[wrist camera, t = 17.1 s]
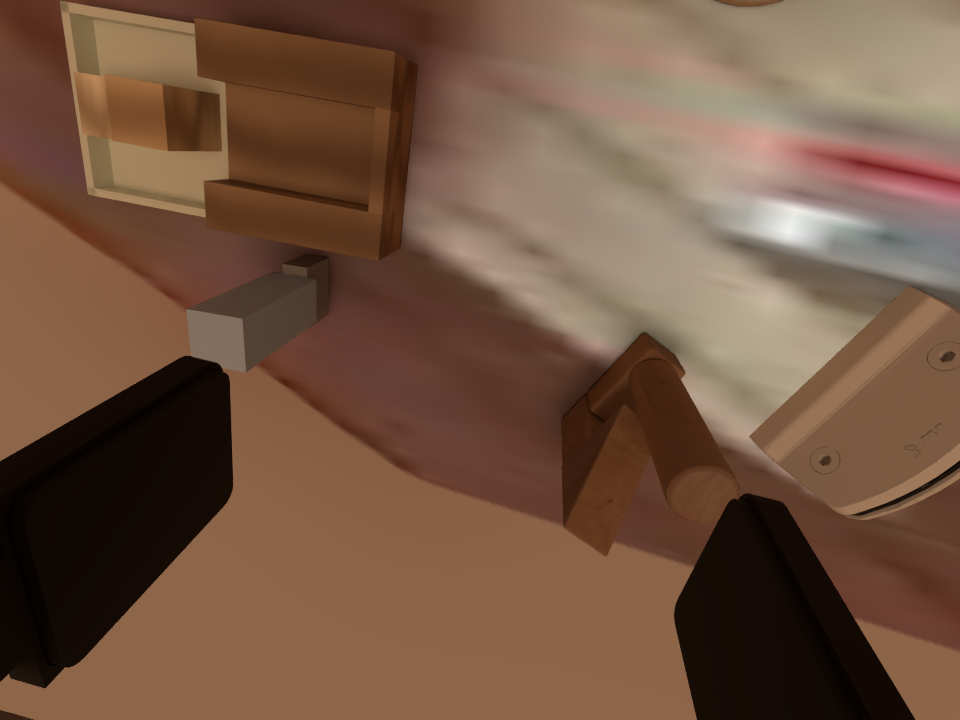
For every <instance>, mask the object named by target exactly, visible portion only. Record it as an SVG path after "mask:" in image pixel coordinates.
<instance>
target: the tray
mask: <svg viewBox="0 0 960 720" xmlns="http://www.w3.org/2000/svg"><path fill="white" fill-rule="evenodd" d="M60 6H61V13H62V20H63V27H64V33H65V40H66V47H67V54H68V60H69V67H70V74H71V81H72V87H73V94H74V101H75V108H76V115H77V121H78V128H79V135H80V142H81V148H82V155H83V162H84V169H85V175H86V182H87V189H88V195H93V196H98V197H103V198H109V199H114V200H119V201H124V202H129V203H134V204H139V205H145V206H150V207H155V208H160V209H165V210H170V211H175V212H181V213H186V214H191V215H196V216H201V217H206V214H205V197H204V181H208V180H220V179H229V167H228V141H227V115H226V89H225V82H221V81H217V80H212V79H207V78H202V77H198V76H197V59H196V42H195V25H194V24H193V23H187V22H181V21H175V20H169V19H163V18H158V17H152V16H146V15H140V14H134V13H128V12H122V11H116V10H110V9H104V8H99V7H93V6H87V5H81V4H75V3H69V2H63V1H60ZM74 71H75V72H81V73H86V74H92V75H98V76H104V74H106V75H112V76H117V77H123V78H129V79H134V80H140V81H146V82H152V83H157V84H163V85H169V86H175V87H180V88H186V89H191V90H197V91H203V92H208V93H214V94H220V116H221V139H222V151H164V150H159V149H153V148H148V147H143V146H137V145H132V144H126V143H121V142H116V141H112V139H106V138H101V137H95V136H90V135H84V134H83V133H82V126H81V119H80V112H79V105H78V98H77V92H76V85H75V78H74Z"/></svg>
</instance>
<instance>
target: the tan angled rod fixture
mask: <svg viewBox="0 0 960 720" xmlns="http://www.w3.org/2000/svg"><path fill="white" fill-rule="evenodd" d="M684 375H685V371H684V369H683V367H682V366H681V364H680V362H679V361H678V359H677V357H676V356H675V355H674V354H673V353H672V352H670V351H669V350H668V349H666V348H665V347H664V346H662V345H661V344H660V343H658V342H657V341H656V340H655V339H653V338H652V337H651V336H649V335H648V334H645V333H644V334H642V335H641V336H640V337H639V338H638V339H637V340H636V341H635V342H634V343H633V344H632V346H631V347H630V348H629V349H628V350H627V351H626V352H625V353H624V354H623V355H622V356H621V357H620V358H619V359H618V360H617V361H616V363H615V364H614V365H613V366H612V367H611V368H610V369H609V370H608V371H607V372H606V373H605V374H604V375H603V376H602V377H601V379H600V380H599V381H598V382H597V383H596V384H595V385H594V386H593V387H592V388H591V389H590V390H589V391H588V395H585V396H584V397H583V398H582V399H581V400H580V401H579V402H578V403H577V404H576V405H575V406H574V407H573V408H572V409H571V410H570V411H569V412H568V414H567V415H566V416H565V417H564V418H563V419H562V421H561V426H562V460H563V465H562V492H563V526H564V528H565V529H566V530H568V531H569V532H570V533H572V534H573V535H575V536H576V537H578V538H579V539H581V540H583V541H584V542H585V543H586V544H588V545H589V546H591V547H592V548H594V549H595V550H597V551H598V552H600V553H601V554H603V555H604V556H607V555H608V552H609V550H610V548H611V545H612V543H613V541H614V539H615V536H616V534H617V532H618V529H619V527H620V525H621V523H622V520H623V518H624V516H625V513H626V511H627V509H628V507H629V504H630V502H631V500H632V497H633V495H634V493H635V491H636V488H637V486H638V484H639V481H640V479H641V477H642V475H643V472H644V470H645V468H646V465H647V463H648V461H649V459H650V456H652V459H653V462H654V465H655V468H656V471H657V474H658V477H659V480H660V483H661V486H662V489H663V493H664V496H665V499H666V501H667V503H668V505H669V508H670V509H671V510H672V511H673V512H674V513H675V514H676V515H678V516H679V517H681V518H683V519H685V520H687V521H690V522H695V523H710V522H713V521H717V520H719V519H720V517H721V515H722V513H723V511H724V509H725V507H726V505H727V504H728V502H729V501H730V500H731V499H739V488H740V487H739V484H738V482H737V479H736V477H735V476H734V474H733V472H732V470H731V468H730V467H729V465H728V463H727V461H726V459H725V458H724V456H723V454H722V452H721V451H720V449H719V447H718V445H717V443H716V442H715V440H714V438H713V436H712V435H711V433H710V431H709V429H708V427H707V426H706V424H705V422H704V420H703V418H702V417H701V415H700V413H699V411H698V410H697V408H696V406H695V404H694V402H693V401H692V399H691V397H690V395H689V394H688V392H687V390H686V388H685V386H684V385H683V383H682V381H681V378H682V377H683V376H684Z"/></svg>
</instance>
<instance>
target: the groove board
mask: <svg viewBox="0 0 960 720" xmlns="http://www.w3.org/2000/svg"><path fill="white" fill-rule="evenodd" d="M194 25H195V42H196V59H197V76H198V77H202V78H207V79H212V80H217V81H221V82H225V89H226V115H227V141H228V167H229V179H220V180H208V181H204V197H205V214H206V228H212V229H217V230H222V231H227V232H232V233H237V234H242V235H247V236H252V237H258V238H263V239H268V240H273V241H278V242H283V243H288V244H293V245H299V246H304V247H309V248H314V249H319V250H324V251H329V252H334V253H339V254H345V255H350V256H355V257H360V258H365V259H370V260H375V261H379V260H381V259H383V258H384V257H386V256H387V255H389V254H391V253H392V252H394V251H395V250H397V249H399V248H400V243H401V233H402V223H403V212H404V202H405V192H406V182H407V171H408V161H409V151H410V140H411V130H412V120H413V110H414V99H415V89H416V79H417V68H418V66H417V65H415V64H414V63H412V62H411V61H409V60H408V59H406V58H404V57H403V56H401V55H400V54H398V53H397V52H394V51H388V50H383V49H377V48H371V47H365V46H359V45H353V44H347V43H341V42H335V41H329V40H323V39H317V38H311V37H306V36H300V35H294V34H288V33H282V32H276V31H270V30H264V29H258V28H252V27H246V26H240V25H234V24H228V23H223V22H217V21H211V20H205V19H199V18H194Z"/></svg>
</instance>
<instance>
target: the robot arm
mask: <svg viewBox="0 0 960 720" xmlns="http://www.w3.org/2000/svg"><path fill="white" fill-rule="evenodd" d="M717 1H720V2H722V3H727V4H732V5H736V6H762V5H767V4H771V3H776V2H781V1H783V0H717ZM231 437H232V436H231V406H230V381H229V376H228V375H227V374H226V373H224V372H223V369H222V367H221V365H220V364H218V363H216V362H212V361H208V360H204V359H200V358H196V357H192V356H184V357H181V358H179V359H177V360H176V361H174V362H172V363H171V364H169V365H167V366H165V367H164V368H162V369H160V370H159V371H157V372H155V373H153V374H151V375H150V376H148V377H146V378H145V379H143V380H141V381H139V382H137V383H136V384H134V385H132V386H131V387H129V388H127V389H125V390H124V391H122V392H120V393H118V394H117V395H115V396H113V397H111V398H110V399H108V400H106V401H104V402H103V403H101V404H99V405H98V406H96V407H94V408H92V409H90V410H89V411H87V412H85V413H83V414H82V415H80V416H78V417H77V418H75V419H73V420H71V421H70V422H68V423H66V424H64V425H63V426H61V427H59V428H57V429H56V430H54V431H52V432H51V433H49V434H47V435H45V436H43V437H42V438H40V439H38V440H37V441H35V442H33V443H31V444H30V445H28V446H26V447H24V448H23V449H21V450H19V451H17V452H16V453H14V454H12V455H10V456H9V457H7V458H5V459H3V460H2V461H0V681H2V680H3V679H4V678H5V677H6V676H7V675H8V674H9V675H10V678H11V679H15V680H18V681H22V682H25V683H29V684H32V685H35V686H39V687H42V688H46V687H47V686H48V685H49V684H50V683H51V682H52V681H53V679H54V678H55V677H56V676H57V675H58V674H59V673H60V672H61V671H62V670H63V669H64V668H65V667H71V666H74V665H76V664H77V663H79V662H80V661H81V660H82V659H83V658H84V657H85V656H86V655H87V654H88V653H89V652H90V651H91V650H92V648H94V646H95V645H96V644H97V643H98V642H99V641H100V640H101V639H102V638H103V637H104V636H105V635H106V633H107V632H108V631H109V630H110V629H111V628H112V627H113V626H114V625H115V623H117V622H118V620H119V619H120V618H121V617H122V616H123V615H124V614H125V613H126V612H127V611H128V610H129V608H130V607H131V606H132V605H133V604H134V603H135V602H136V601H137V600H138V599H139V598H140V597H141V595H142V594H143V593H144V592H145V591H146V590H147V589H148V588H149V587H150V586H151V585H152V584H153V582H154V581H155V580H156V579H157V578H158V577H159V576H160V575H161V574H162V573H163V572H164V570H165V569H166V568H167V567H168V566H169V565H170V564H171V563H172V562H173V561H174V560H175V558H176V557H177V556H178V555H179V554H180V553H181V552H182V551H183V550H184V549H185V548H186V547H187V546H188V544H189V543H190V542H191V541H192V540H193V539H194V538H195V537H196V536H197V535H198V534H199V533H200V531H201V530H202V529H203V528H204V527H205V526H206V525H207V524H208V523H209V522H210V521H211V519H212V518H213V517H214V516H215V515H216V514H217V513H218V512H219V511H220V510H221V509H222V508H223V506H224V505H225V504H226V503H227V501H228V499H229V498H230V495H231V493H232V489H233V466H232V440H231V439H232V438H231ZM674 619H675V626H676V630H677V635H678V639H679V644H680V648H681V652H682V657H683V661H684V665H685V670H686V674H687V678H688V683H689V687H690V691H691V696H692V700H693V704H694V709H695V713H696V717H697V720H915V718H914V717H913V715H912V713H911V712H910V710H909V708H908V707H907V705H906V703H905V702H904V700H903V698H902V697H901V695H900V693H899V692H898V690H897V689H896V687H895V685H894V684H893V682H892V680H891V679H890V677H889V675H888V674H887V672H886V670H885V669H884V667H883V665H882V664H881V662H880V661H879V659H878V657H877V656H876V654H875V652H874V651H873V649H872V647H871V646H870V644H869V643H868V641H867V639H866V637H865V636H864V635H863V632H862V631H861V629H860V627H859V626H858V624H857V622H856V621H855V619H854V618H853V616H852V614H851V613H850V611H849V609H848V608H847V606H846V604H845V603H844V601H843V599H842V598H841V596H840V594H839V593H838V591H837V589H836V588H835V586H834V585H833V583H832V581H831V580H830V578H829V576H828V575H827V573H826V571H825V570H824V568H823V566H822V565H821V563H820V561H819V560H818V558H817V556H816V555H815V553H814V552H813V550H812V548H811V547H810V545H809V543H808V542H807V540H806V538H805V537H804V535H803V533H802V532H801V530H800V528H799V527H798V525H797V523H796V522H795V520H794V519H793V517H792V515H791V514H790V512H789V510H788V509H787V507H786V506H785V505H784V503H782V502H780V501H777V500H773V499H769V498H765V497H761V496H757V495H753V494H749V493H747V494H743V495H742V496H741V497H740V498H739V499H731V500H730V501H729V502H728V504H727V505H726V507H725V509H724V511H723V513H722V515H721V517H720V519H719V521H718V523H717V525H716V527H715V528H714V530H713V532H712V534H711V536H710V538H709V540H708V542H707V544H706V546H705V548H704V550H703V552H702V554H701V555H700V557H699V559H698V561H697V563H696V565H695V567H694V569H693V571H692V573H691V575H690V577H689V579H688V581H687V583H686V584H685V586H684V588H683V590H682V592H681V594H680V596H679V598H678V600H677V603H676V606H675V612H674ZM0 720H33V719H30V718H26V717H23V716H19V715H16V714H13V713H9V712H5V711H1V710H0Z"/></svg>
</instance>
